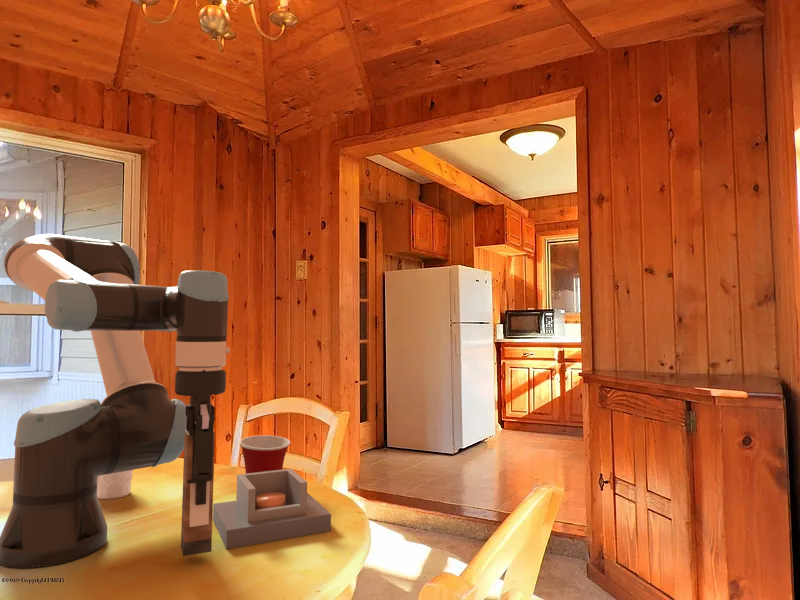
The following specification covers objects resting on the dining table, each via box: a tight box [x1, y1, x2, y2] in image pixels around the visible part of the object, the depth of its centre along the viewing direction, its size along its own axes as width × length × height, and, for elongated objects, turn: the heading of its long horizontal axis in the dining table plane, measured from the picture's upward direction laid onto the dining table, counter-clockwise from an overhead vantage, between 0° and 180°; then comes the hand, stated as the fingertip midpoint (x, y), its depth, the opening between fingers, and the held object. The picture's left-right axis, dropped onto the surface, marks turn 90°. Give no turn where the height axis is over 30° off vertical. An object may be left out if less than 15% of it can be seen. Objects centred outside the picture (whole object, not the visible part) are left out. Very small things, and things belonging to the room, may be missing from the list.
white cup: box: [97, 470, 134, 500], centre depth 116 cm, size 8×8×10 cm
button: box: [256, 492, 285, 510], centre depth 99 cm, size 5×5×2 cm
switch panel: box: [212, 468, 332, 550], centre depth 99 cm, size 18×15×8 cm
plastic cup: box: [239, 434, 291, 474], centre depth 116 cm, size 11×11×12 cm
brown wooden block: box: [180, 430, 216, 557], centre depth 84 cm, size 4×4×18 cm
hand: (197, 519), depth 83 cm, fingers closed on brown wooden block, 4 cm apart
